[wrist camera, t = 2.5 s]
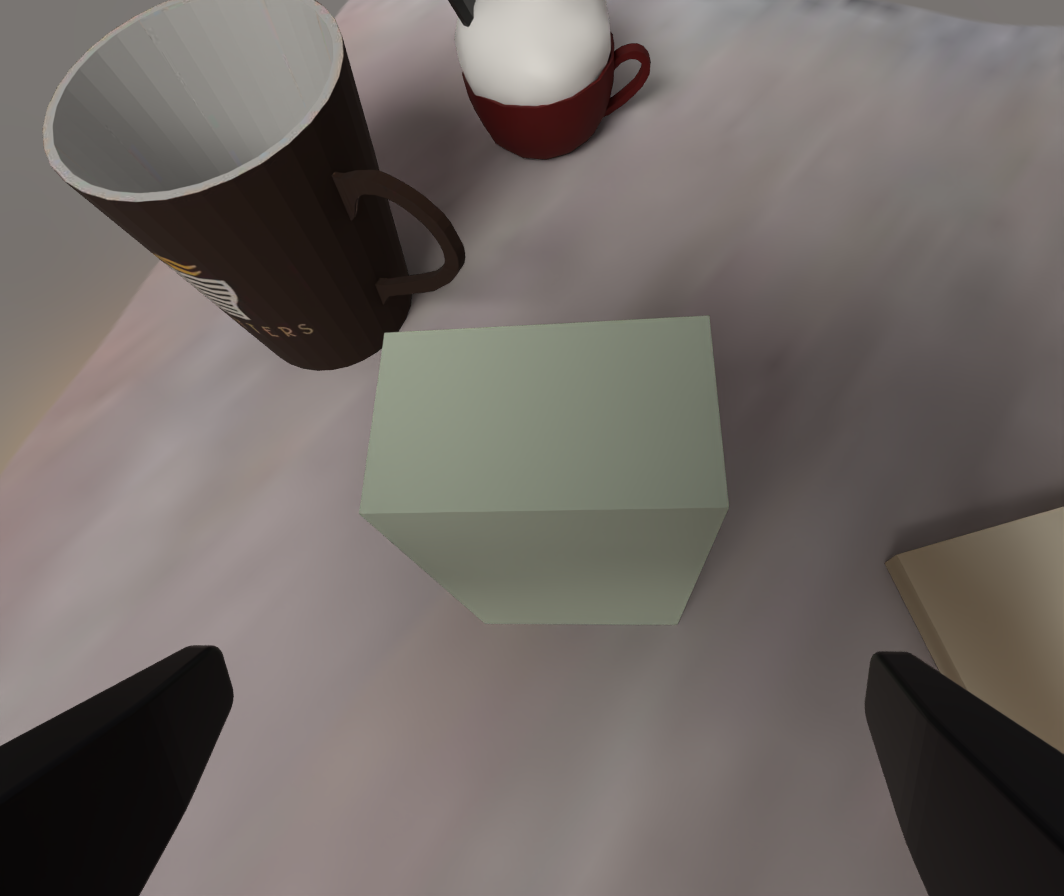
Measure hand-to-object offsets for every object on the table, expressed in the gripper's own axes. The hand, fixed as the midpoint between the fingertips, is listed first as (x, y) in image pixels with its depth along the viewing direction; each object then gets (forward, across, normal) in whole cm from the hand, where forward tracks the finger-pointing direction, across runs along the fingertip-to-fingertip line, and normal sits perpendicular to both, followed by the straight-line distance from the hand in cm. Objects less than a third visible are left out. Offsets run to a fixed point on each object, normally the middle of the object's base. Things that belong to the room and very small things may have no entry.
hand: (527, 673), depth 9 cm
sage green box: (+11, 0, +5) cm, 12 cm away
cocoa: (+26, +2, -9) cm, 27 cm away
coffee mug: (+18, +9, -2) cm, 21 cm away
